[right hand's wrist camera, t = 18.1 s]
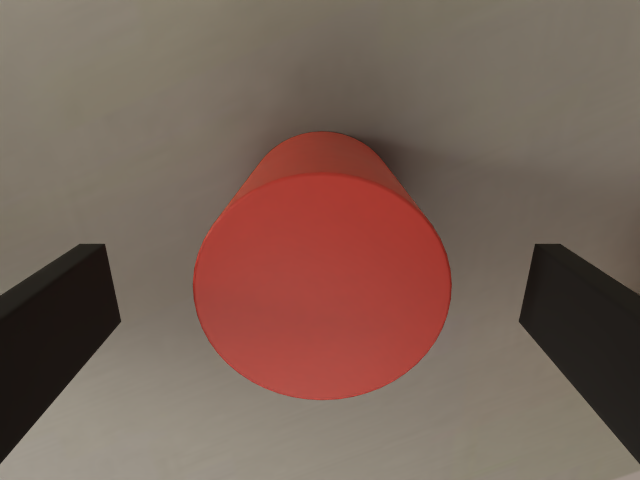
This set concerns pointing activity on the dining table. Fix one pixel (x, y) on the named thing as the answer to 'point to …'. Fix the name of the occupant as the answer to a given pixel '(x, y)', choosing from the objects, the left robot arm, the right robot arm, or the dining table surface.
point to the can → (322, 273)
